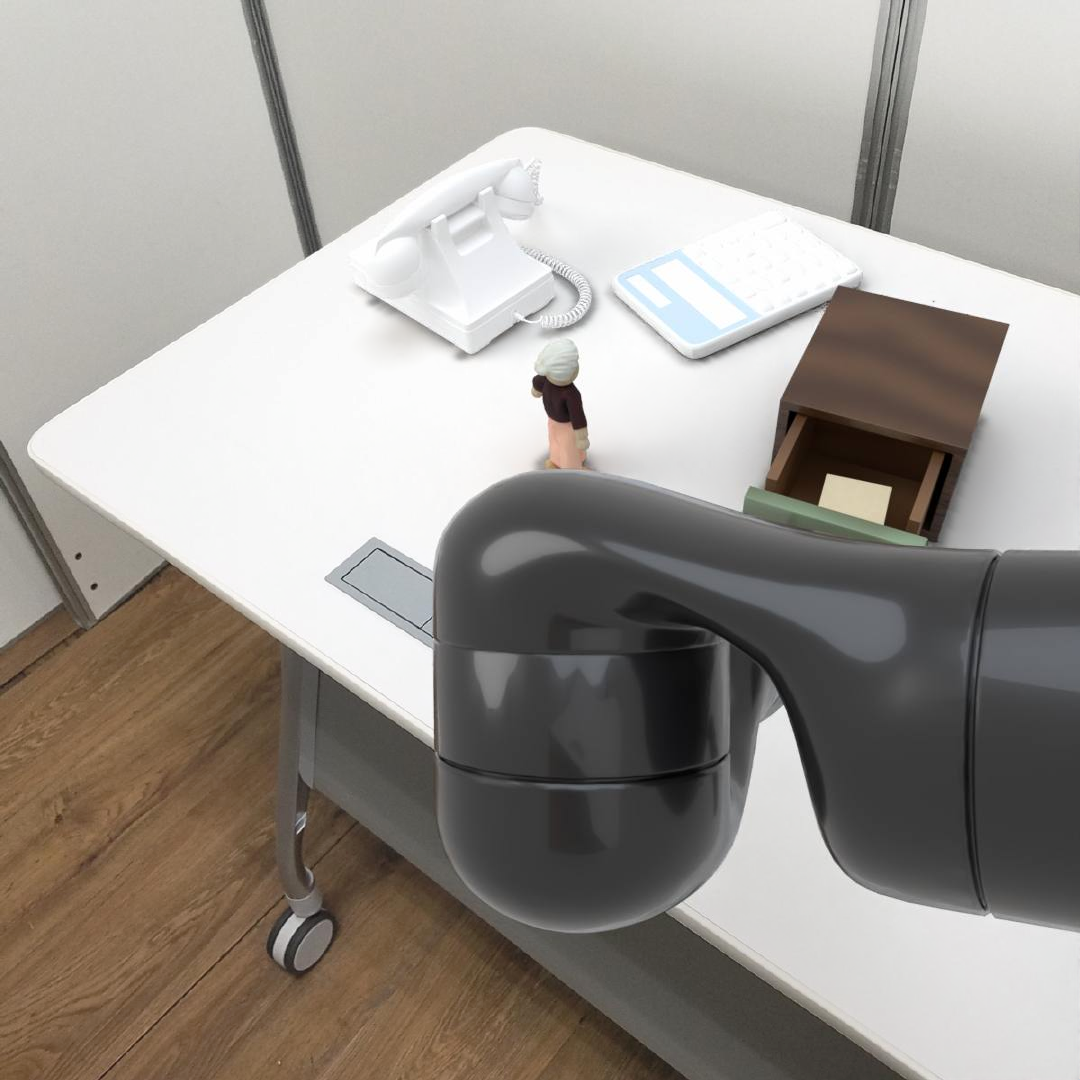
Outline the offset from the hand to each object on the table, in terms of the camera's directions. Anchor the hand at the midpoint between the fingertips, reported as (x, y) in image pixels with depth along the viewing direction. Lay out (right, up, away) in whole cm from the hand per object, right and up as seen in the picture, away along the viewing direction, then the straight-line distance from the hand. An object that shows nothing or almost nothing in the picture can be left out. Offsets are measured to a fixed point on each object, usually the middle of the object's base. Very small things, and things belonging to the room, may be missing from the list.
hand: (780, 593), depth 58 cm
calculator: (+6, +26, +45) cm, 52 cm away
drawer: (+9, +2, +22) cm, 24 cm away
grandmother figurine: (-11, +9, +31) cm, 34 cm away
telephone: (-18, +27, +47) cm, 57 cm away
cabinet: (+14, +10, +30) cm, 34 cm away
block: (+9, +2, +21) cm, 23 cm away
